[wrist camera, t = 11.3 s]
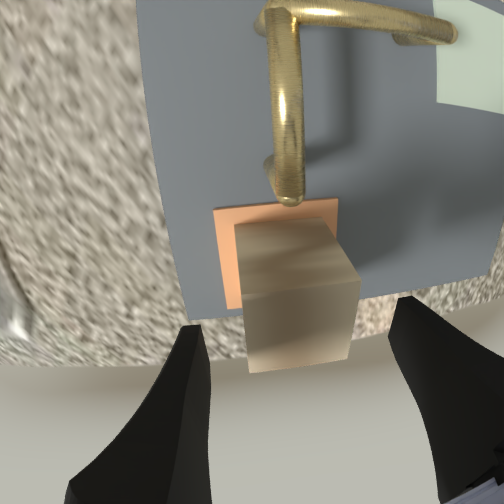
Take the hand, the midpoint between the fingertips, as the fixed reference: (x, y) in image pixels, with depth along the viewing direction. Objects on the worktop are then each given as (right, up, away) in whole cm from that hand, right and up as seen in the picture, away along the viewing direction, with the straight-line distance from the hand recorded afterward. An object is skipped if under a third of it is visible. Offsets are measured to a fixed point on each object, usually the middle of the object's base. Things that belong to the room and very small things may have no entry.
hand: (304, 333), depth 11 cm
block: (-1, +3, +4) cm, 5 cm away
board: (+4, +8, +3) cm, 10 cm away
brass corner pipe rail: (+2, +9, +1) cm, 10 cm away
